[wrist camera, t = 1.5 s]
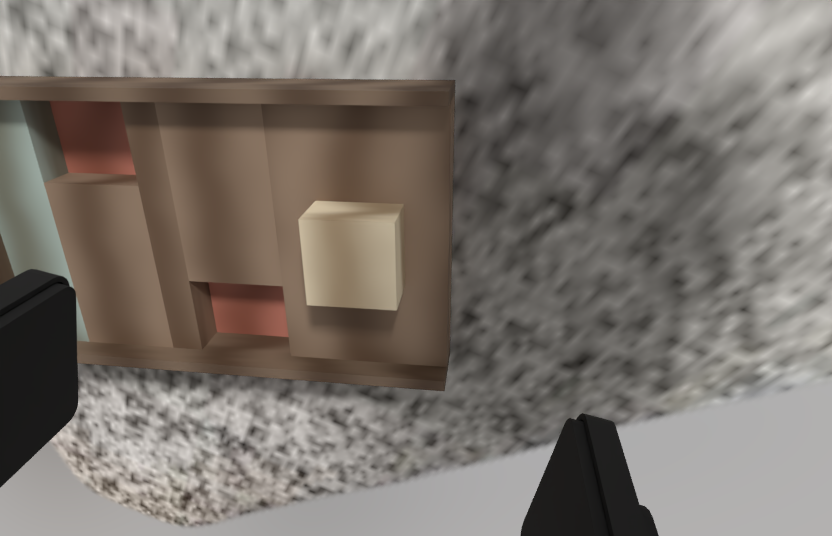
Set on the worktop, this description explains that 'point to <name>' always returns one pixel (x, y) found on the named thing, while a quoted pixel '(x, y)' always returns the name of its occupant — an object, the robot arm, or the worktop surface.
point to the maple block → (353, 254)
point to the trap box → (229, 218)
